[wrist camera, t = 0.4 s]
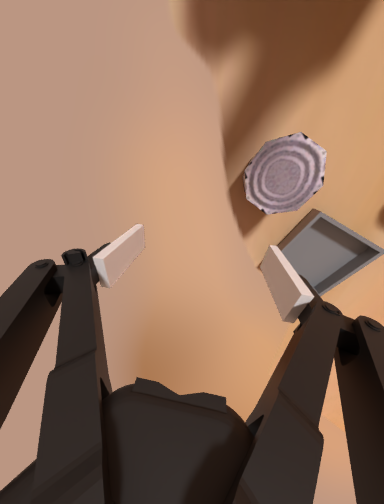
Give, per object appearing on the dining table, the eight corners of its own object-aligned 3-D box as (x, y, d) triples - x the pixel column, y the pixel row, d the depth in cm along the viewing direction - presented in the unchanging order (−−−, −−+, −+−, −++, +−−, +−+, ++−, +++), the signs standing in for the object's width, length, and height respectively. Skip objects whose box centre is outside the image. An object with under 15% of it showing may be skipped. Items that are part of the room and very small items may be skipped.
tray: (313, 208, 34) (320, 211, 31) (374, 244, 34) (387, 251, 31) (263, 259, 43) (265, 266, 40) (312, 288, 43) (318, 297, 40)
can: (245, 208, 38) (249, 220, 28) (238, 158, 34) (239, 150, 23) (297, 195, 34) (325, 204, 24) (297, 137, 30) (330, 117, 19)
